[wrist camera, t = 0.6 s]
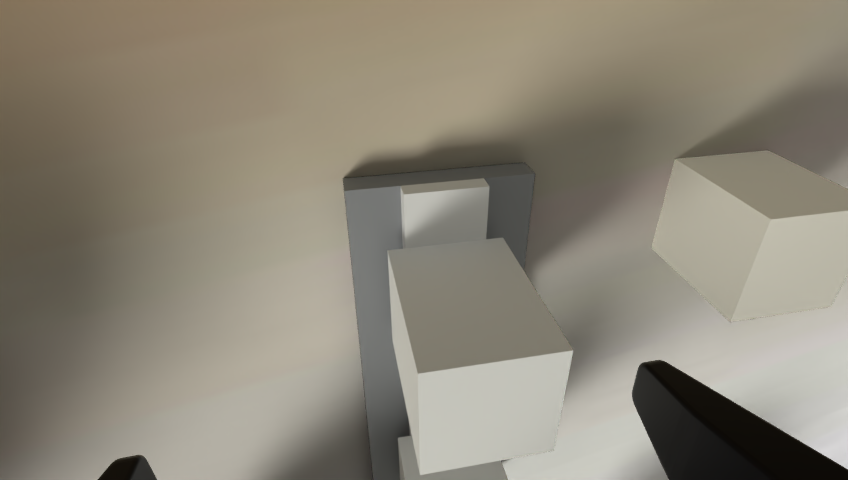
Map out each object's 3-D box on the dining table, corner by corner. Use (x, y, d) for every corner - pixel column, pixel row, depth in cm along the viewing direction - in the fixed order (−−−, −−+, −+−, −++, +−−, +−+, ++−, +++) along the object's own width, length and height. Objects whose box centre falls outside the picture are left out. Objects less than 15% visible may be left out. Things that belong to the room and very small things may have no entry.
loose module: (738, 237, 28) (833, 306, 23) (651, 248, 27) (730, 322, 22) (770, 149, 25) (886, 206, 20) (674, 158, 24) (771, 219, 19)
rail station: (493, 469, 34) (546, 622, 27) (374, 491, 33) (393, 659, 25) (525, 162, 23) (632, 280, 15) (343, 178, 21) (361, 316, 14)
